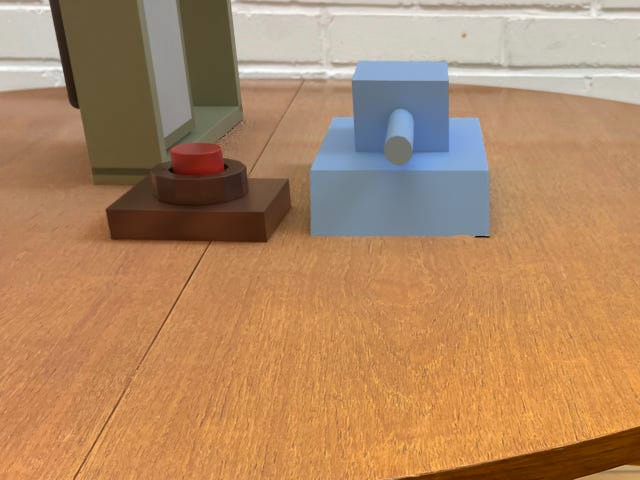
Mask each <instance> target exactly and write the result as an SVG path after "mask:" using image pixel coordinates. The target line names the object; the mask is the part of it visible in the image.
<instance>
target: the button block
mask: <svg viewBox="0 0 640 480" xmlns="http://www.w3.org/2000/svg"><path fill="white" fill-rule="evenodd" d="M223 161H224V169H225V171H221V172H218V173H214V174H205V175H180V174H174V173H173V169H172V162H171V161H168V162H164V163H161V164H157V165H156V166H155V167H153V168H152V169H151V170H150V173H151V176H146V177H145V178H144V179H143V180H141V181H140V182H139V183H138V184H136V185H133V186H132V187H131V188H130V189H129V190H127V191H126V192H125V193H123V195H121V196H119V198H117V199H116V200H115V201H113V202H112V203H111V204H110V205H109V206H107V207H106V208H105V214H106V220H107V224H108V230H109V235H110V240H114V241H115V240H120V241H125V240H127V241H170V242H171V241H173V242H175V241H177V242H222V243H223V242H226V243H268V242H269V240H270V239H271V237H272V236H273V235H274V233H275V232H276V231H277V229H278V227H279V226H280V224H281V223H282V222H283V220H284V218H285V217H286V215H287V214H288V212H289V211H290V209H291V208H292V201H291V200H292V199H291V198H292V197H291V189H290V179H289V178H271V177H270V178H263V177H262V178H261V177H248V171H247V165H246V164H245V163H243V162H241V161H240V160H237V159H232V158H226V157H223Z"/></svg>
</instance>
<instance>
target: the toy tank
mask: <svg viewBox="0 0 640 480" xmlns="http://www.w3.org/2000/svg"><path fill="white" fill-rule="evenodd" d="M448 66H449V65H448V61H447V60H445V61H444V60H443V61H441V60H439V61H437V60H435V61H434V60H358V63H357V64H356V68H355V70H354V73H353V74H352V75H353V76H352V78H351V93H352V95H351V96H352V113H353V115H352V116H333V118H332V120H331V122H330V124H329V126H328V129H327V131H326V133H325V135H324V138H323V139H322V143H321V144H320V147H319V149H318V151H317V154H316V155H315V158H314V161H313V163H312V165H311V167H310V168H309V169H310V170H309V191H310V193H309V197H310V198H309V199H310V201H309V202H310V205H309V206H310V207H309V208H310V209H309V211H310V212H309V213H310V237H456V236H455V235H469V236H468V237H475V236H485V235H490V236H491V227H490V226H491V220H490V219H491V214H490V213H491V211H490V169H489V163H488V158H487V153H486V148H485V144H484V138H483V137H484V136H483V132H482V128H481V122H480V118H479V117H450V80H449V79H450V77H449V69H448Z"/></svg>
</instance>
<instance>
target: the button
mask: <svg viewBox="0 0 640 480" xmlns="http://www.w3.org/2000/svg"><path fill="white" fill-rule="evenodd" d="M170 156H171V162H172V169H173V173H174V174H180V175H205V174H214V173H218V172H221V171H225V169H224V161H223V158H224V153H223V148H222V146H221V145H219V144H216V143H215V144H211V143H189V144H182V145H177V146H174V147H172V148H171V149H170Z"/></svg>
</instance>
